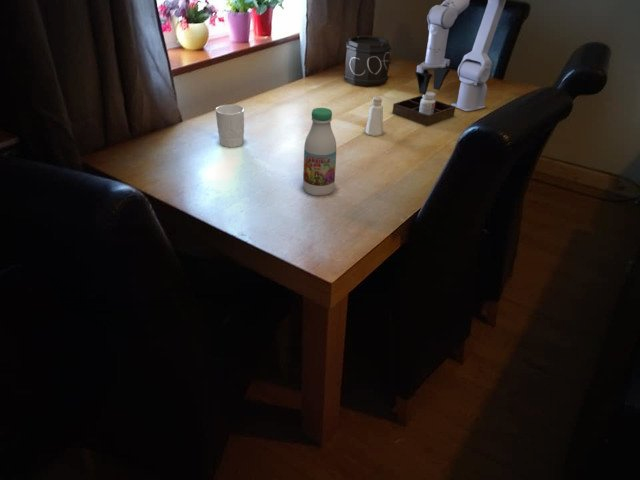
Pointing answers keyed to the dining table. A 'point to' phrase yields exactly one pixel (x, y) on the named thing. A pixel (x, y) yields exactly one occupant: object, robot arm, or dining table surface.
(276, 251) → the dining table surface
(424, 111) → the pill bottle
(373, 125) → the pepper shaker
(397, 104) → the tray
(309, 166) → the milk bottle
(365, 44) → the coffee canister
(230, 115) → the white cup
